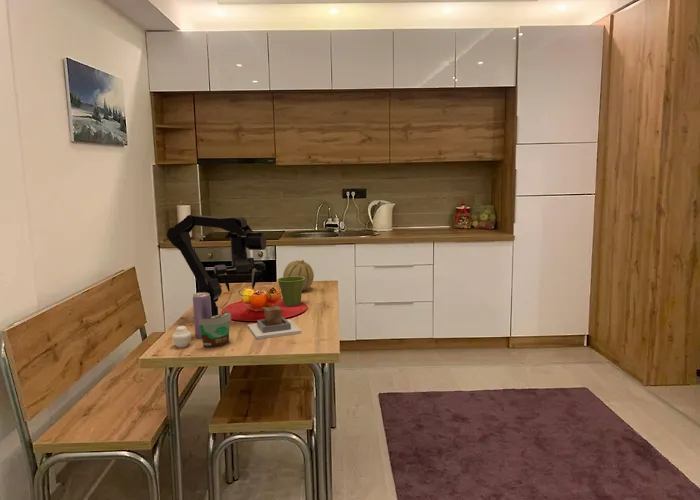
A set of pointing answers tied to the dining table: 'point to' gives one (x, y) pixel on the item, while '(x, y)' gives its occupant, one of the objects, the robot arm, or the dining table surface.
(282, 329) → the socket base
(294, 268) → the cantaloupe
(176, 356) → the dining table surface
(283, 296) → the plant pot
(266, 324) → the walnut peg
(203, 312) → the beverage can
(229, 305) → the dining table surface
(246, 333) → the dining table surface
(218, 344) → the food container
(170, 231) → the robot arm
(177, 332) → the white lidded jar
